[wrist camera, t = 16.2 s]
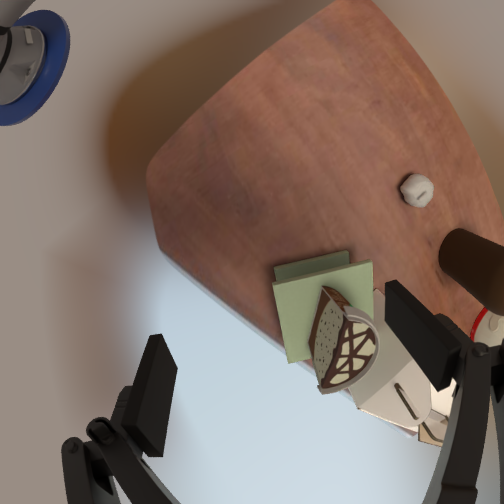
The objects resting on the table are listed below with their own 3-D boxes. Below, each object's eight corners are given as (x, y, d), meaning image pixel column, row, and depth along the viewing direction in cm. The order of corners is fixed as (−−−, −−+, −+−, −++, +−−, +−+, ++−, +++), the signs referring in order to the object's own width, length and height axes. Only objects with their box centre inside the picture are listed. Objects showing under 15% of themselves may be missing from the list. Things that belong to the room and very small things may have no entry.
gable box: (325, 339, 52) (380, 467, 25) (375, 286, 49) (467, 396, 22) (387, 377, 58) (440, 472, 31) (429, 336, 55) (498, 423, 28)
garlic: (397, 207, 44) (414, 215, 39) (393, 175, 42) (411, 179, 37) (425, 200, 44) (443, 207, 39) (422, 169, 42) (440, 173, 37)
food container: (341, 349, 43) (363, 393, 33) (304, 349, 42) (320, 397, 33) (364, 278, 39) (397, 315, 29) (323, 275, 38) (350, 315, 29)
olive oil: (437, 230, 46) (538, 289, 22) (474, 221, 46) (567, 269, 22) (434, 281, 50) (516, 354, 26) (469, 269, 50) (550, 328, 26)
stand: (280, 334, 50) (288, 363, 43) (265, 262, 46) (272, 285, 38) (355, 314, 50) (372, 340, 43) (351, 242, 45) (372, 261, 38)
